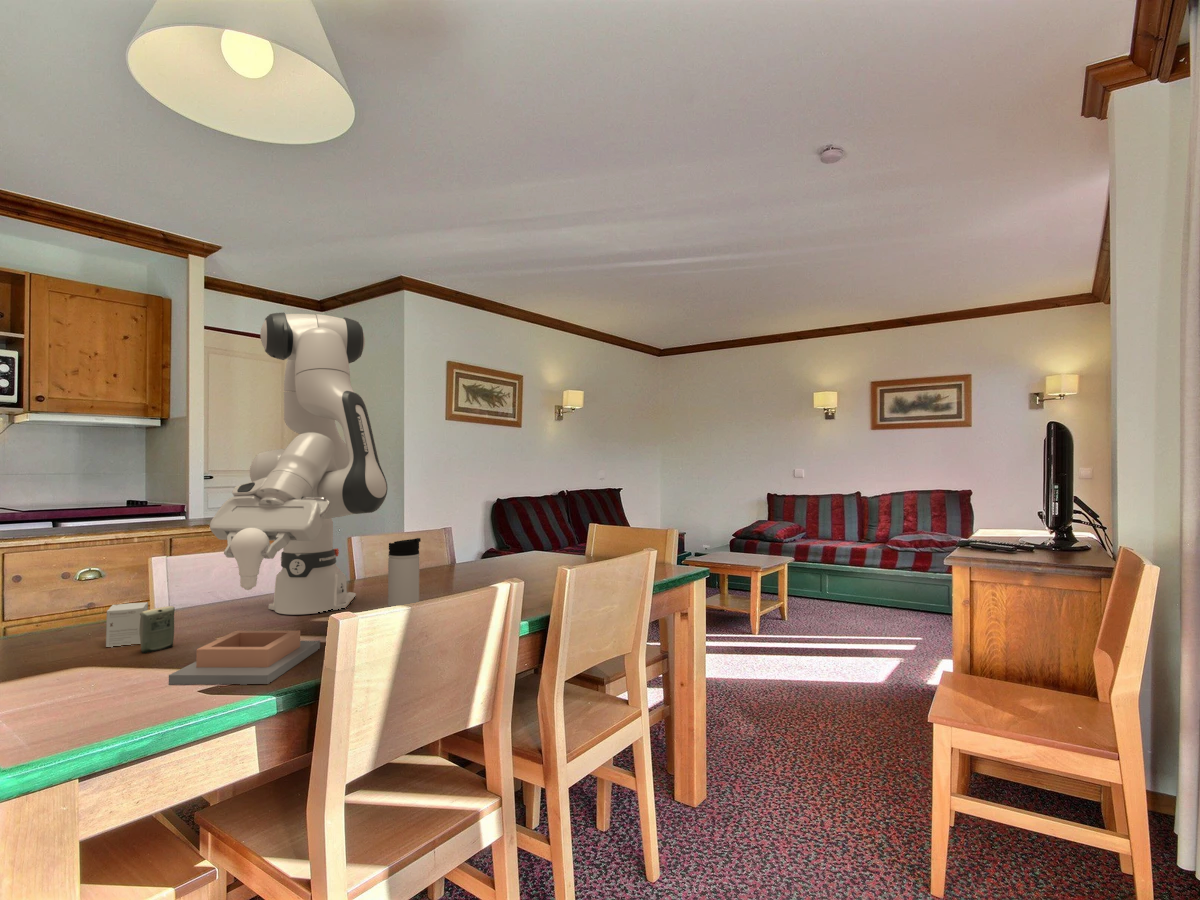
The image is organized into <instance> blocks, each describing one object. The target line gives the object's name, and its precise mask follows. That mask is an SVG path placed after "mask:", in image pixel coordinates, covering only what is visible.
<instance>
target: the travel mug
mask: <svg viewBox="0 0 1200 900" xmlns="http://www.w3.org/2000/svg"><path fill="white" fill-rule="evenodd" d="M420 542H422V541H421V537H416V538H412V539H411V538H410V539H404V540H397V541H393V542H389V543H388V559H387V561H388V562H387V563H388V564H387V565H388V568H387V569H388V571H387V575H388V577H387V579H388V580H387V581H388V582H387V608H388V607H391V606H396V605H404V604H410V603H416V602H419V603H420V550H419V549H420Z"/></svg>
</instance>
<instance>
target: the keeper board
mask: <svg viewBox="0 0 1200 900" xmlns="http://www.w3.org/2000/svg"><path fill="white" fill-rule="evenodd" d="M318 649H319V650H320V649H321V640H301V630H235V631H232V632H230V633H228V634H226V635H224V636H222V637H219V638H218V639H216V640H213V641H211V642H209V643H207V644H205V645H203V646H201V647H198V648H197V649H196V653H195V654H196V659H195V660H196V661H194V662H192V663H190V664H188V665H186V666H184V667H182V668H181V669H178V670H176V671H174V672H172V673H170V674H168V685H191V684H205V686H206V684H210V685H211V684H215V685H216V684H224V686H225V684H228V685H229V684H240V685H242V686H243V685H244V686H245V685H247V684H268V685H269V684H270V682H271V683H272V682H273V681H275V680H276V679H278V678H279V677H281V676H282V675H284V674H285V673H287V672H288V671H290V670H291V669H293V668H294V667H295V666H297V665H299V664H300V663H301V662H302V661H304V660H305V659H307V658H308V657H310V656H311V655H313V654H314V653H316V652H317V651H318ZM229 686H230V685H229Z"/></svg>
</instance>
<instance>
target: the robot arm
mask: <svg viewBox="0 0 1200 900" xmlns="http://www.w3.org/2000/svg"><path fill="white" fill-rule="evenodd" d="M260 341H261V344H262V347H263V349H264V352H265V353H266V354H267V355H268V356H269V357H271V358H275V359H277V360H281V361H285V360H287V361H286V365H285V371H284V380H283V391H284V392H283V420H284V422H285V423H284V424H285V425H286V426H287V428H289V429H290V430H292V431H293V432H295V433H296V434H298V435H297V436H295V437H294V438H293V439H292V440H291V441H290V442H289V443H288V445H287V446H286V447H285V448H277V449H271V450H266V451H261V452H259V453H258V454H257V455H255V457H254V458H253V459H252V461H251V464H250V467H249V477H250V482H247V483H242V484H238V485H236V486H235V487H234V488H233V490H232V492H231V493H232V495H233V496H232V497H229V498H228V499H227V500H225V501H224V503H223V504H222V505H221V506H220V507H219V509H218V510H217V511H216V513H215V514H214V516H213V517H212V519H211V520H210V522H209V530H210V531H211V532H212V534H213V535H214V536H215V537H216V539H218V540H220V541H221V540H222V541H224V540H225V541H227V546H226V548H225V549H224V551H223V555H225V557H226V558H229V559H230V558H234V559H235V557H234V556H233V554H232V552H231V541H232V539H233V537H234V536H235V535H236V534H237V533H238V532H239V531H241V530H243V529H246V528H257V529H260V530H262V531H263V532H264V533H265V534H266V535H267V536H268V538H269V542H271V541H273V542H272V543H270V546H266V547H265V548H264V550H263V551H262V556H264V559H265V560H267V559H271V560H273V559H274V558H275V556H276V555H277V553H278V552H279V551H281V550H282V552H281V554H280V555H281V556H280V566H281V570H280V571H279V572H278V573H276V575H275V583H274V584H275V585H274V594H273V602H272V603H269V604H268V610H272V611H274V612H275V613H278V614H280V615H294V616H295V615H310V614H319V613H318V612H320V613H324V612H323V611H326V612H329V611H328V610H331V609H333V610H331V611H338V609H339V610H342V609H341V608H345V607H346V606H347V605H348V604H349V602H350V601H351V600H352V599H353V598H354V597H355V596H356V597H357V593H355V592H351V591H347V589H348V587H347V583H348V582H347V575H346V574H345V573H344V572H343V571H342V570H341V569H340V568H339V567H338V566H337V564H336V563H337V558H336V557H339V555H340V551H339V548H333V547H334V538H333V537H334V522H333V521H334V520H333V519H334V518H341V517H346V516H351V515H359V514H360V515H361V514H369V513H374V512H376V511H378V510H379V509H380V508H381V506H382V504H384V501H385V500H386V497H387V494H388V483H387V478H386V476H385V474H384V472H383V469H382V466H381V463H380V461H379V457H378V451H377V447H376V443H375V439H374V434H373V430H372V426H371V421H370V416H369V413H368V409H367V406H366V404H365V402H364V400H363V398H362V397H361V395H359V393H357V392H355V391H354V389H353V387H352V383H351V382H352V381H351V374H350V373H351V371H350V365H349V364H351V363H354V362H356V361H358V359H360V358H361V357H362V354H363V351H364V350H365V349H364V348H365V345H366V338H365V333H364V330H363V327H362V325H361V324H360V323H359V321H357V320H354V319H351V318H348V317H343V318H341V317H337V316H332V315H327V314H320V313H319V314H318V313H314V314H313V313H312V314H311V313H310V314H309V313H285V312H275V313H270V314H268V315H267V316H266V317H264V322H263V323H262V326H261V327H260ZM336 421H337V423H339V425H340V426H341V429H342V430H343V431H342V432H343V436H344V440H343V438H342V436H341V435H340V433H339V431H338V429H337V424H336ZM356 597H355V598H356ZM345 609H346V608H345Z"/></svg>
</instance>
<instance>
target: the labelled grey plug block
mask: <svg viewBox="0 0 1200 900" xmlns="http://www.w3.org/2000/svg"><path fill="white" fill-rule="evenodd" d="M175 611H176V610H175V606H172V605H168V606H163V607H162V606H161V607H157V608H152V609H148V610H146V611H143V612H141V613H140V616H141V618H140V628H139V635H140V643H141V645H140V650H141V651H140V653H141V652H142V653H141V654H148V653H147V652H150V653H153V652H152V651H154V652H157V650H158V651H162V650H165V649H170V648H173V646H174V640H175V639H174V637H175ZM161 649H162V650H161Z"/></svg>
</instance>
